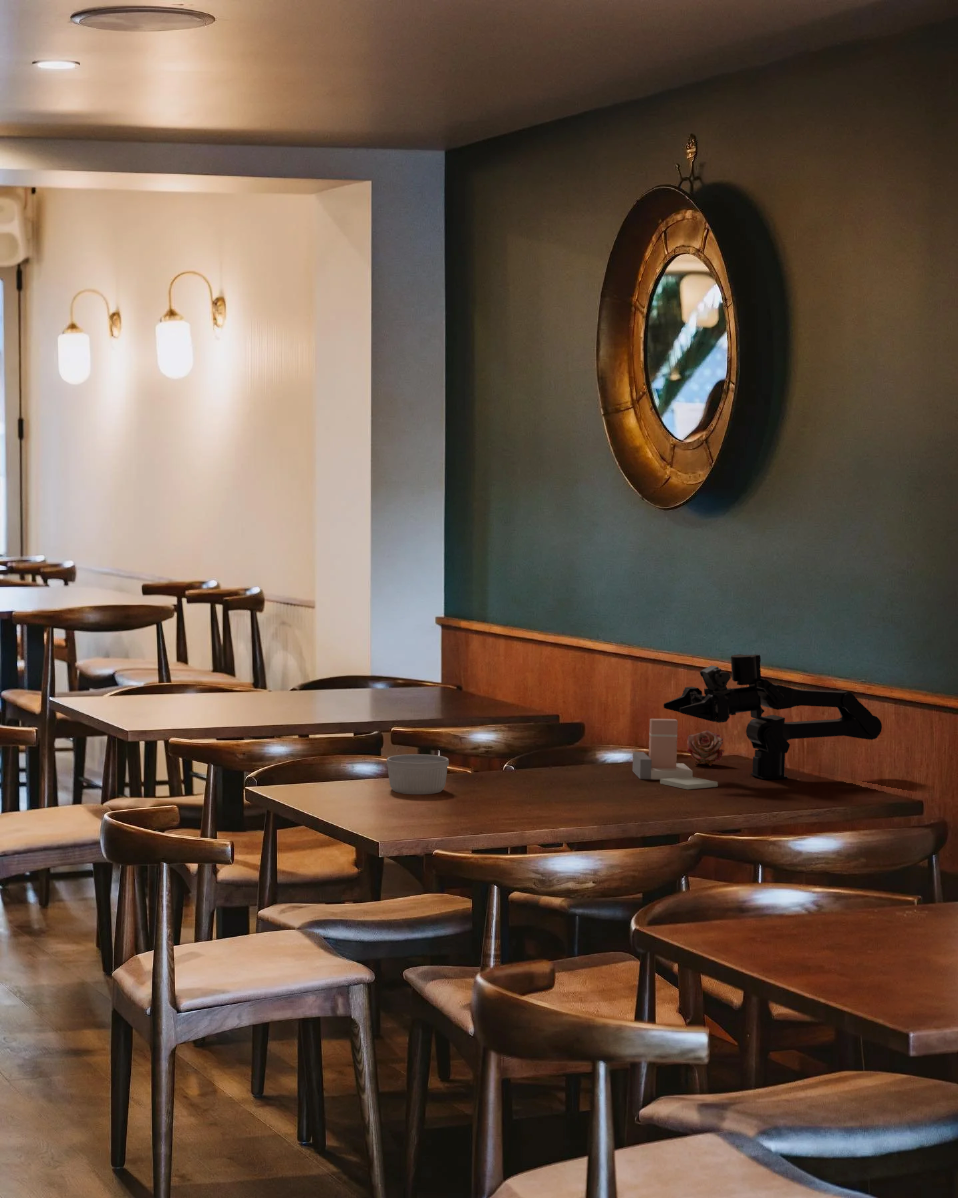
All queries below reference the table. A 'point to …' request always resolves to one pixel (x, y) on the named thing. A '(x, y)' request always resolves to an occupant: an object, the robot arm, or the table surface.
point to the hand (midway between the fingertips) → (671, 708)
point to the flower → (705, 747)
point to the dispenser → (657, 769)
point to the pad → (688, 782)
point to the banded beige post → (663, 743)
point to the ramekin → (417, 773)
